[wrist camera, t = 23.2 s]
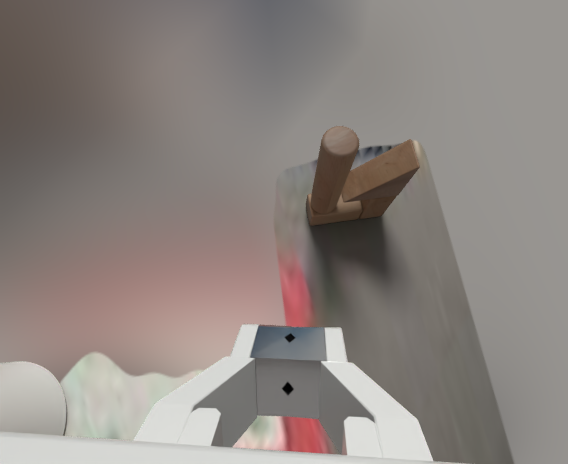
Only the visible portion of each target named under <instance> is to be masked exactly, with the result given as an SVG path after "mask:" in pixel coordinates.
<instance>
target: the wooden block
mask: <svg viewBox="0 0 568 464" xmlns="http://www.w3.org/2000/svg"><path fill="white" fill-rule="evenodd" d="M358 148H359V139H358V137H357V135H356V133H355V132H354V131H353V130H351V129H349V128H347V127H343V126H336V127H333V128H331V129H329V130H328V131H326V133H325V134H324V135H323V138H322V140H321V146H320V151H319V157H318V162H317V167H316V173H315V178H314V184H313V189H312V194H308V195H307V201H306V209H307V214H308V220H309V224H310V225H311V226H312V225H320V224H327V223H334V222H342V221H349V220H356V219H358V218H359V219H364V218H371V217H378V216H382V214H383V213H384V212H385V211H386V209H387V208H388V207H389V205H390V204H391V203H392V201H393V200H394V199H395V198H396V196H397V195H399V193H400V192H401V191H402V189H403V188H404V187H405V186H406V184H407V183H408V182H409V180H410V179H411V178H412V177H413V175H414V174H415V173H416V171H417V170H418V169H419V167H420V166H419V162H418V159H417V156H416V153H415V150H414V147H413V143H412V140H411V139H409V140H407V141H406V142H404V143H402V144H400V145H398V146H396V147H394V148H393V149H391V150H389V151H387V152H385V153H383V154H381V155H379V156H378V157H376V158H374V159H372V160H370V161H368V162H366V163H365V164H363V165H361V166H359V167H357V168H355V169H353V170H351V171H350V169H351V167H352V164H353V161H354V159H355V156H356V153H357V151H358Z"/></svg>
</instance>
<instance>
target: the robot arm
mask: <svg viewBox="0 0 568 464" xmlns="http://www.w3.org/2000/svg"><path fill="white" fill-rule="evenodd" d="M257 415H261V416H290V417H301V418H312V419H319V421H320V423H321V424H322V426H323V428H324V429H325V431H326V432H327V434H328V435H329V437H330V439H331V440H332V442H333V443H334V445H335V446H336V448H337V450H338V451H339V453H340V454H341V455H335V454H321V453H306V452H291V451H276V450H261V449H247V448H232V446H233V445H234V444H235V443H236V442H237V440H238V439H239V438H240V437H241V436H242V435H243V433H244V432H245V431H246V430H247V429H248V427H249V426H250V425H251V424H252V423H253V421H254V420H255V419H256V418H257ZM65 424H66V402H65V397H64V393H63V391H62V388H61V386H60V384H59V382H58V381H57V379H56V378H55V377H54V376H53V375H52V374H51V373H50V372H49V371H48V370H47V369H45V368H43V367H42V366H40V365H37V364H34V363H30V362H22V361H18V362H9V363H0V464H465V463H450V462H436V461H433V459H432V456H431V454H430V451H429V449H428V446H427V443H426V441H425V438H424V435H423V433H422V430H421V428H420V425H419V422H418V420H417V419H416V418H415V417H414V416H413V415H412V414H411V413H409V412H408V411H407V410H406V409H405V408H404V407H403V406H401V405H400V404H399V403H398V402H397V401H396V400H395V399H393V398H392V397H391V396H390V395H389V394H388V393H387V392H385V391H384V390H383V389H382V388H381V387H380V386H379V385H377V384H376V383H375V382H374V381H373V380H372V379H371V378H369V377H368V376H367V375H366V374H365V373H364V372H363V371H361V370H360V369H359V368H358V367H357V366H356V365H355V364H353V363H348V362H347V356H346V350H345V344H344V339H343V333H342V329H341V328H340V327H291V326H274V325H258V324H243V325H242V326H241V328H240V331H239V333H238V336H237V339H236V341H235V344H234V347H233V350H232V352H231V355H230V357H224V358H223V359H221V360H220V361H218V362H217V363H215V364H213V365H212V366H210V367H209V368H207V369H206V370H204V371H203V372H201V373H200V374H198V375H197V376H195V377H194V378H192V379H191V380H189V381H188V382H186V383H185V384H183V385H182V386H180V387H179V388H177V389H176V390H174V391H173V392H171V393H170V394H168V395H167V396H165V397H164V398H162V399H161V400H159V401H158V402H156V403H155V404H154V406H153V408H152V409H151V411H150V413H149V415H148V416H147V418H146V420H145V421H144V423H143V425H142V426H141V428H140V430H139V432H138V433H137V435H136V437H135V438H134V440H133V441H131V440H117V439H103V438H88V437H74V436H63V434H64V429H65Z"/></svg>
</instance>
